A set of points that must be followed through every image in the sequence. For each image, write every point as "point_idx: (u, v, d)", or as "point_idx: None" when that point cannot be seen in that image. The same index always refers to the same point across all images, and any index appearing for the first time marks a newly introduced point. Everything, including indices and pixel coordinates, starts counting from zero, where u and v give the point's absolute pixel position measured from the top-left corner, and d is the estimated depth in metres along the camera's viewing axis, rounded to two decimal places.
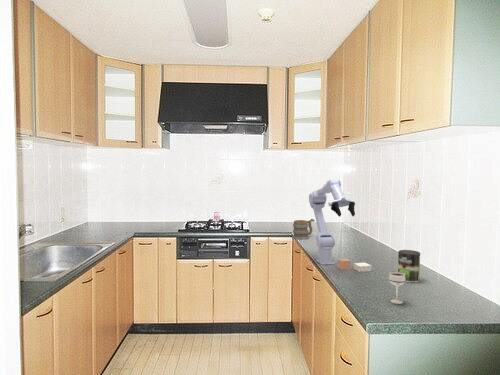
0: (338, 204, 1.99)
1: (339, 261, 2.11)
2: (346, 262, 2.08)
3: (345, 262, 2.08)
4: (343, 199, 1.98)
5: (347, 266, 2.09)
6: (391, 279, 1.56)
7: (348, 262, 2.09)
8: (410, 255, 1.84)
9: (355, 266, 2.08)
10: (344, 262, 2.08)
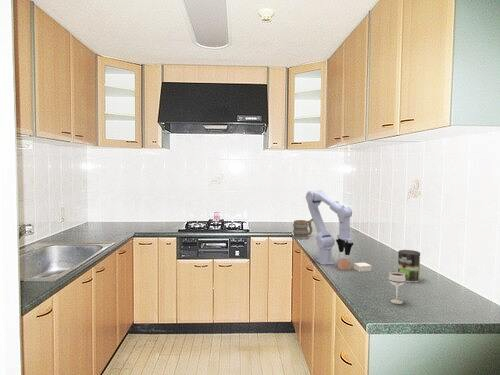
0: (346, 241, 2.08)
1: (339, 261, 2.11)
2: (346, 262, 2.08)
3: (345, 262, 2.08)
4: None
5: (347, 266, 2.09)
6: (391, 279, 1.56)
7: (348, 262, 2.09)
8: (410, 255, 1.84)
9: (355, 266, 2.08)
10: (344, 262, 2.08)
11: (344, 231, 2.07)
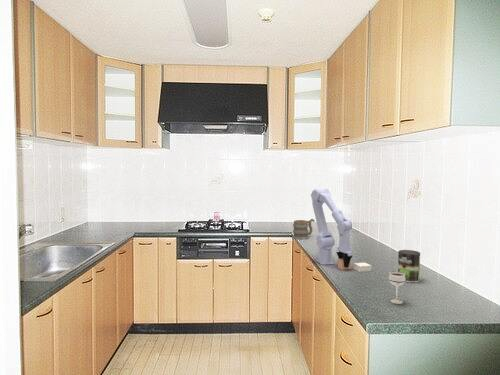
0: (346, 253, 2.08)
1: (339, 261, 2.11)
2: None
3: None
4: None
5: None
6: (391, 279, 1.56)
7: None
8: (410, 255, 1.84)
9: (355, 266, 2.08)
10: None
11: (344, 244, 2.08)
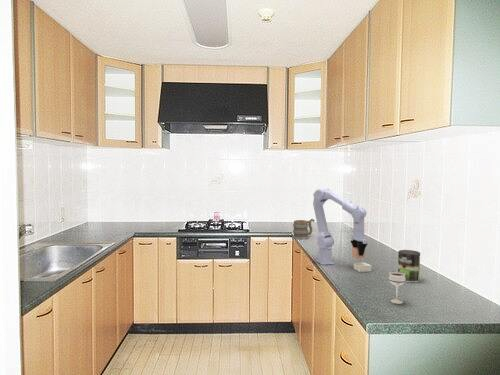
0: None
1: (353, 250, 2.08)
2: None
3: None
4: None
5: None
6: (391, 279, 1.56)
7: None
8: (410, 255, 1.84)
9: (355, 266, 2.08)
10: None
11: (359, 232, 2.05)
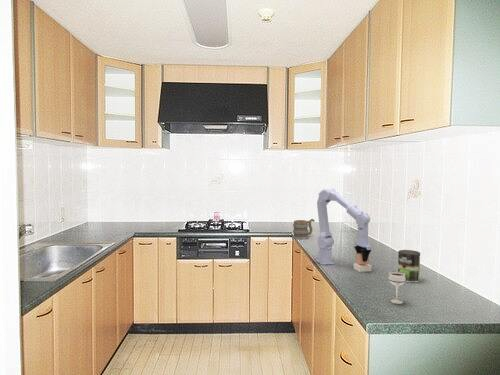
0: None
1: (357, 255, 2.08)
2: None
3: None
4: None
5: None
6: (391, 279, 1.56)
7: None
8: (410, 255, 1.84)
9: (355, 266, 2.08)
10: None
11: (363, 238, 2.04)
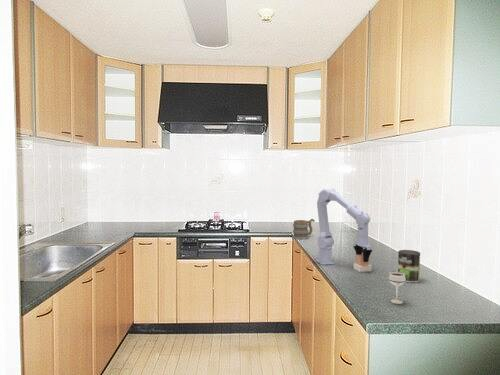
0: (365, 247, 2.05)
1: (357, 257, 2.08)
2: None
3: None
4: None
5: (365, 262, 2.05)
6: (391, 279, 1.56)
7: None
8: (410, 255, 1.84)
9: (355, 266, 2.08)
10: (362, 258, 2.05)
11: (363, 238, 2.04)
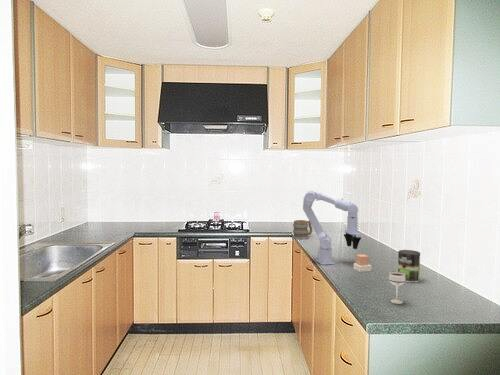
0: None
1: (357, 257, 2.08)
2: (364, 258, 2.05)
3: (363, 258, 2.05)
4: None
5: (365, 262, 2.05)
6: (391, 279, 1.56)
7: (366, 258, 2.05)
8: (410, 255, 1.84)
9: (355, 266, 2.08)
10: (362, 258, 2.05)
11: (352, 226, 2.16)
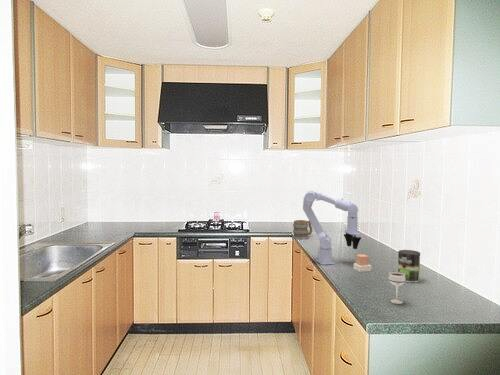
0: None
1: (357, 257, 2.08)
2: (364, 258, 2.05)
3: (363, 258, 2.05)
4: None
5: (365, 262, 2.05)
6: (391, 279, 1.56)
7: (366, 258, 2.05)
8: (410, 255, 1.84)
9: (355, 266, 2.08)
10: (362, 258, 2.05)
11: (352, 226, 2.16)
